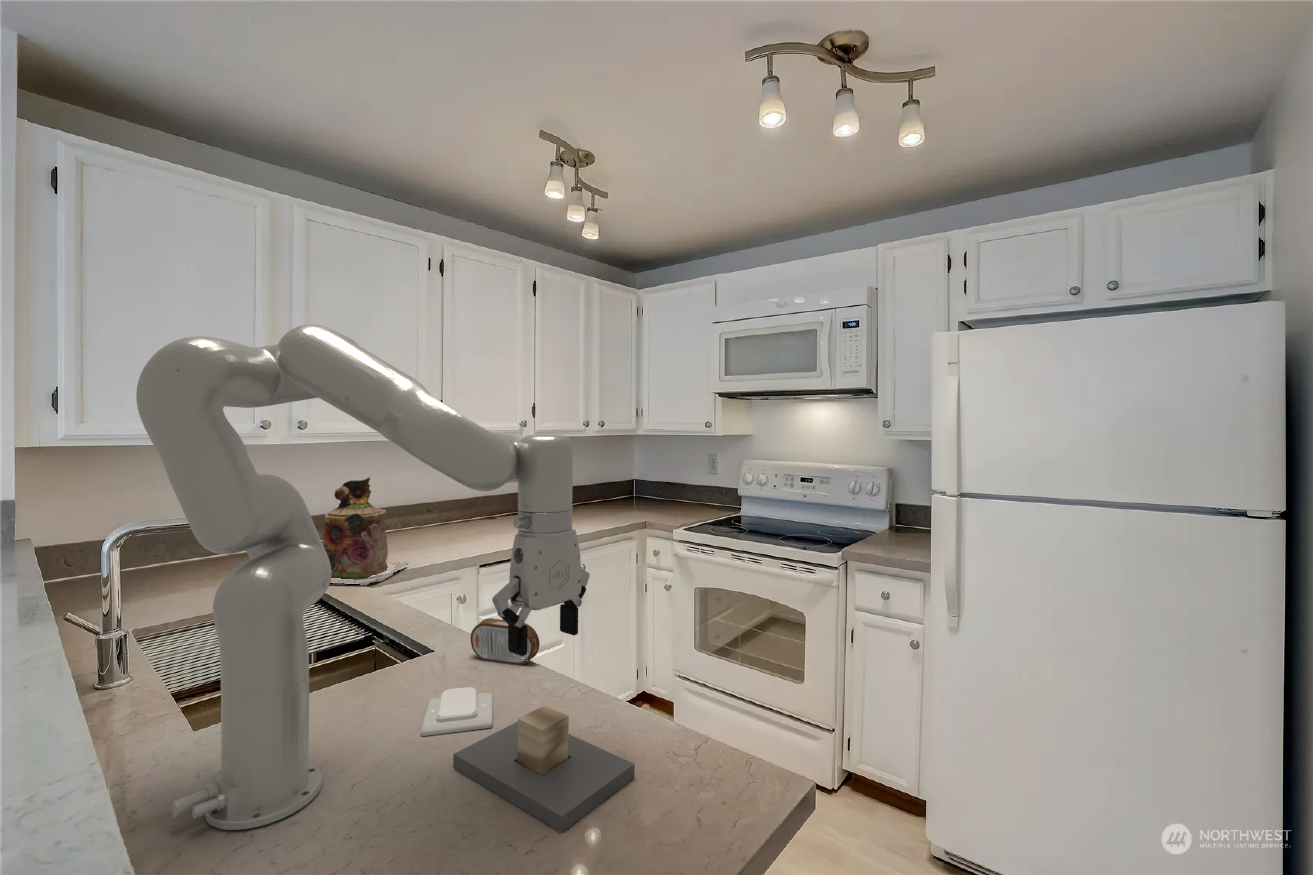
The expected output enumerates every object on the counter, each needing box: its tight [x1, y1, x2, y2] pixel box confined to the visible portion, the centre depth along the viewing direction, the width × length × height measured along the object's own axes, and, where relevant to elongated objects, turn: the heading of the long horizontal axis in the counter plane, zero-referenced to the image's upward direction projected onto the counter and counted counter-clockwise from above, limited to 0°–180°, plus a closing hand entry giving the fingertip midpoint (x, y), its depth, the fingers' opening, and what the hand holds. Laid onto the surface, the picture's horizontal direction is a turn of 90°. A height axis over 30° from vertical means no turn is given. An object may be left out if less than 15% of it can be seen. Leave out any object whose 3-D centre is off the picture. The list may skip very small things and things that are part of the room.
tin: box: [470, 617, 541, 666], centre depth 122 cm, size 15×3×8 cm, turn 74°
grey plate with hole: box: [452, 721, 636, 834], centre depth 83 cm, size 14×22×2 cm, turn 53°
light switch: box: [420, 686, 494, 737], centre depth 99 cm, size 11×4×13 cm
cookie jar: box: [322, 476, 409, 587], centre depth 188 cm, size 25×25×32 cm
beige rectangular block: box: [517, 705, 570, 776], centre depth 83 cm, size 5×5×8 cm
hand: (544, 642), depth 83 cm, fingers open, 9 cm apart
